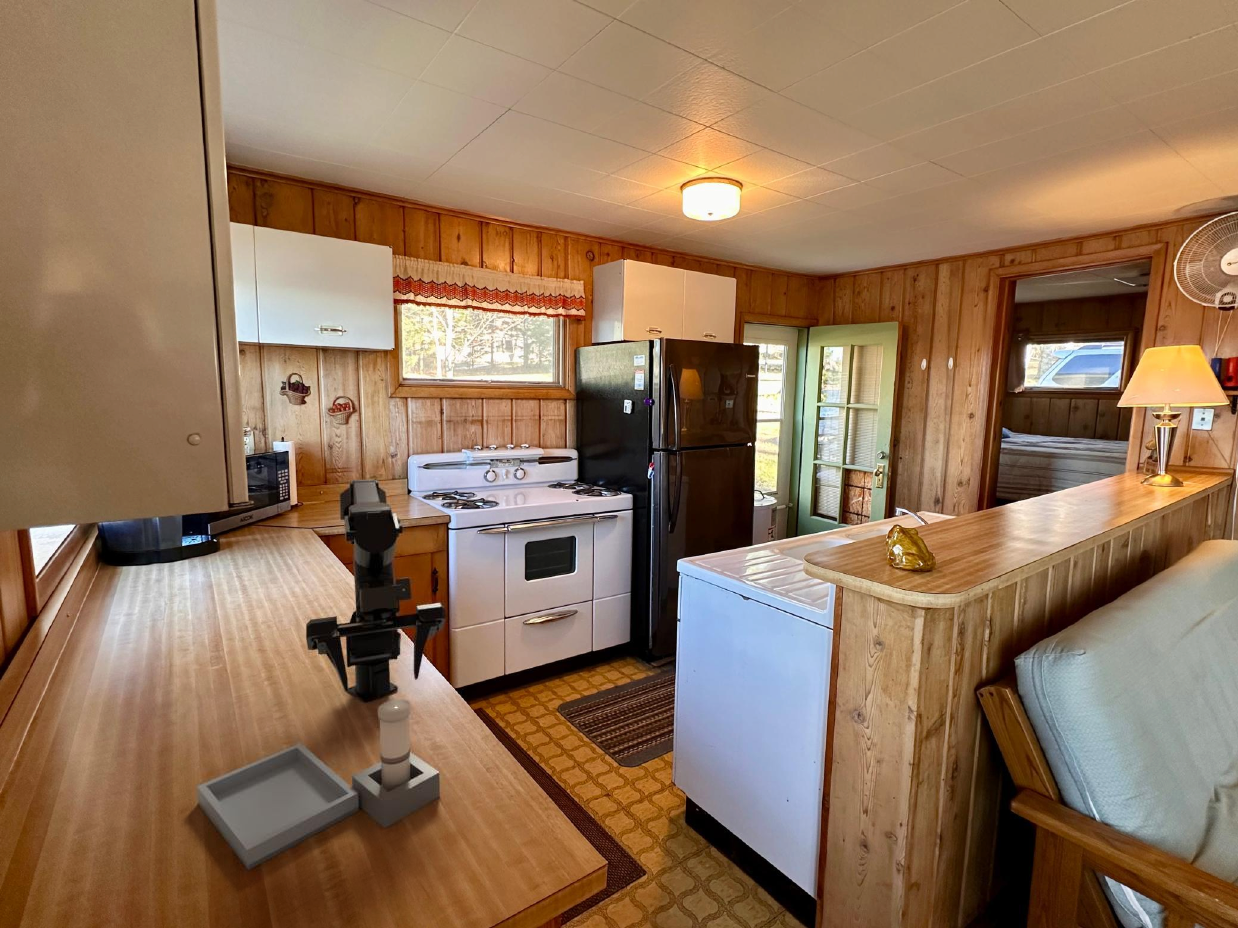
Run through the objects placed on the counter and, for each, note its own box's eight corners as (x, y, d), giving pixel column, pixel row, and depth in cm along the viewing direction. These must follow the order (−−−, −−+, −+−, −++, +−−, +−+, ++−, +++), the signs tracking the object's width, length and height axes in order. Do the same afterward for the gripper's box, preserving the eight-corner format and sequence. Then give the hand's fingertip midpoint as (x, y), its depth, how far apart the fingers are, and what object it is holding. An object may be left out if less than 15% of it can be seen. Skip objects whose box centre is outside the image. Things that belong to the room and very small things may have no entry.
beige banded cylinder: (374, 799, 81) (371, 707, 80) (402, 784, 84) (399, 696, 83) (390, 812, 79) (388, 718, 77) (418, 797, 82) (416, 706, 80)
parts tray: (198, 803, 80) (196, 785, 79) (300, 758, 90) (300, 742, 89) (248, 869, 69) (247, 849, 69) (358, 810, 79) (358, 792, 79)
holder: (352, 800, 81) (352, 775, 81) (407, 771, 87) (406, 749, 87) (384, 828, 76) (383, 802, 76) (439, 796, 82) (439, 772, 82)
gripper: (303, 566, 83) (304, 682, 75) (443, 552, 91) (457, 656, 83) (307, 596, 91) (309, 703, 84) (435, 582, 99) (447, 678, 92)
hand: (382, 684), depth 85 cm, fingers open, 9 cm apart
